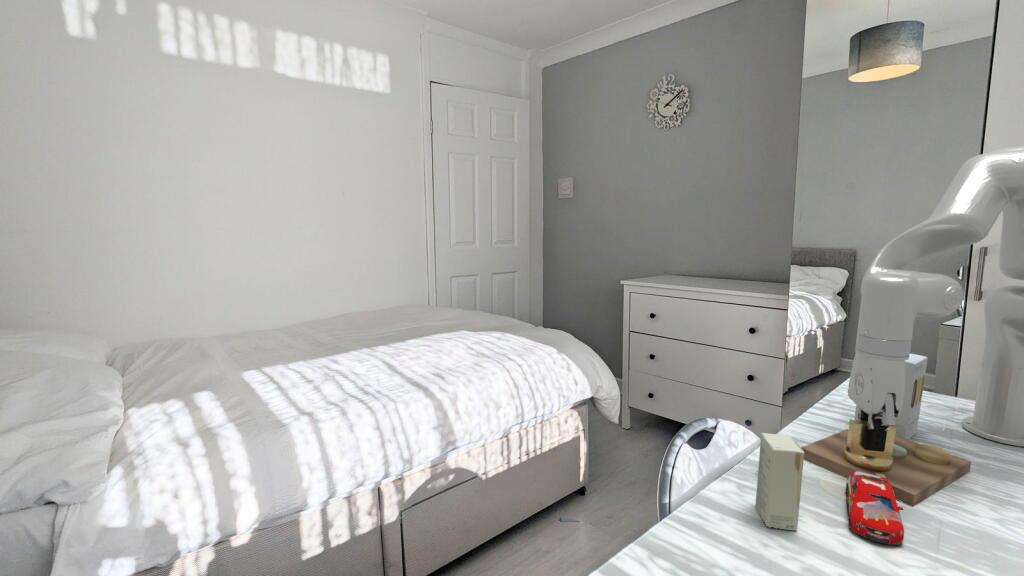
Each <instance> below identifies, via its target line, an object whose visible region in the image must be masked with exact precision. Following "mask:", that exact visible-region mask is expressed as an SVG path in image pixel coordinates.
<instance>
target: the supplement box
mask: <svg viewBox="0 0 1024 576" xmlns="http://www.w3.org/2000/svg"><path fill="white" fill-rule="evenodd" d="M927 366H928V356H925V355H919V354H915V353H910V355H909V359H908V360H905V390H904V400H903V406H902V411H901V414H900V415H899V416H898V417H895V426H894V427H896V431H895V436H898V437H901V438H904V439H907V440H910V439H911V438H912V437H914V435H915V434H917V433H918V427H919V426H918V425H919V419H920V411H921V405H922V400H923V393H924V386H925V379H926V372H927ZM858 408H859V407H858V405H857V404H855V410H854V411H855V412H854V419H853V420H859V419H858V417H857V415H858ZM879 412H883V411H882V410H880V411H879ZM878 418H882V417H878Z"/></svg>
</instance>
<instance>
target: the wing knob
mask: <svg viewBox="0 0 1024 576" xmlns="http://www.w3.org/2000/svg"><path fill="white" fill-rule="evenodd" d="M865 427H868V421H861V420H854V419H852V418H850V419H849V422H848V428H847V429H848V437H847V446H845V452H844V457H845V459H846V460H848V461H849V462H850V463H852V464H854V465H856V466H859V467H862V468H865V469H869V470H874V471H889V470H891V469H892V464H893V457H892V453H893V446H894V438H895V431H896V427H894V426H889V430H888V432H887V436H886V444H885V450H884V451H883V452H879V451H870V450H865V449H863V447H862V445H863V437H864V429H865Z"/></svg>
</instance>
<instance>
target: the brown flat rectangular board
mask: <svg viewBox="0 0 1024 576" xmlns="http://www.w3.org/2000/svg"><path fill="white" fill-rule="evenodd" d="M848 429H849V428H847V429H845V430H842V431H840V432H839V431H838V432H837V433H834V434H832V435H829V436H827V437H824V438H821V439H819V440H816V441H814V442H812V443H811V442H810V443H808V444H806V445H804V446H800V447H801V449H802V450H803V451H804V460H805V461H807V462H810V463H812V464H814V465H817V466H819V467H820V468H824V469H825V470H827V471H831V472H833V473H834V474H837V475H839V476H842V477H845V478H847V479H848V478H849V476H850V474H851V473H852V472H856V471H859V472H864V473H869V474H873V475H877V476H880V477H883V478H884V479H886V480H888V481H889V482H890V484H891V487H892V489H893V491H894V494H895V498H896V501H897V500H898V501H900V502H902V503H904V504H906V505H909V506H911V507H915V505H918V504H919V503H921V502H922V501H924V500H926V499H927V498H929V497H930V496H932V495H934V494H935V493H937V492H939V491H940V490H942V489H944V488H945V487H947V486H948V485H950V484H952V483H953V482H955V481H956V480H958V479H960V478H962V477H963V476H965V475H967V474H968V473H970V471H971V466H972V461H971V460H969V459H965V458H963V457H960V456H958V455H954V454H952V453H950V452H949V451H948V450H946V449H944V448H942V447H939V446H935V445H932V444H927V443H926V444H924V443H919V442H915V441H913V440H910V439H909V440H907V439H904V438H901V437H898V436H895V438H894V446H893V453H892V457H893V464H892V469H891V470H889V471H874V470H869V469H865V468H862V467H859V466H856V465H854V464H852V463H850V462H849V461H848V460H846V459H845V457H844V452H845V446H847V437H848Z"/></svg>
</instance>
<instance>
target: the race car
mask: <svg viewBox="0 0 1024 576" xmlns="http://www.w3.org/2000/svg"><path fill="white" fill-rule="evenodd" d="M845 501H846V502H845V503H846V511H847V520H848V527H849V528H848V529H849V530H850V531H853V532H854V533H856V534H857V535H859V536H861V537H863V538H866V539H868V540H871V541H872V542H876V543H881V544H885V545H891V546H892V545H894V546H895V545H902V544H903V541H904V539H905V527H904V524H903V521H902V516H901V511H903V510H904V507H902V506H898V503H897V502H898V501H897V499H896V498H895V494H894V491H893V489H892V487H891V484H890V482H889V481H888V480H886V479H884V478H883V477H880V476H877V475H873V474H869V473H864V472H859V471H856V472H852V473H851V474H850V476H849V478H847V480H846V484H845Z"/></svg>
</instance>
